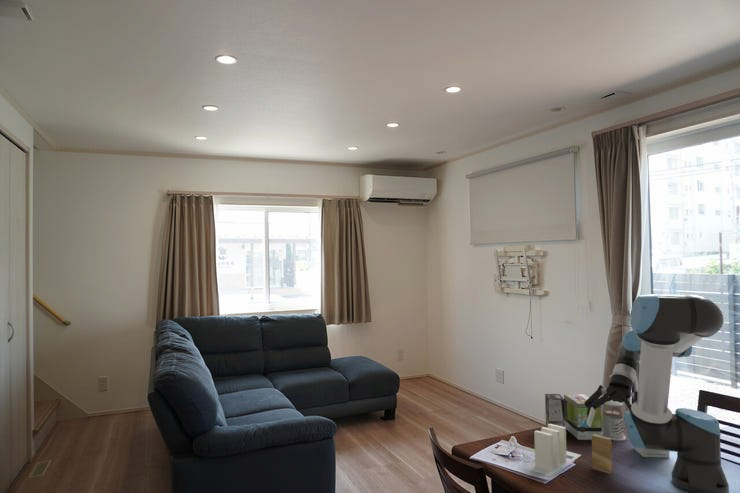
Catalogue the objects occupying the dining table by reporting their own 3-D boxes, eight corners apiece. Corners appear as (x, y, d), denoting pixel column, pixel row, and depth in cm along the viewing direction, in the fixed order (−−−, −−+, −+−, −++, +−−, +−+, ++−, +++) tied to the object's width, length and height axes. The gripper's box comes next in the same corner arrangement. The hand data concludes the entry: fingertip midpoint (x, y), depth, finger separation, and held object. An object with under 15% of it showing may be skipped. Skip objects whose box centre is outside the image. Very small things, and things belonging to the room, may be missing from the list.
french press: (594, 434, 201) (593, 373, 202) (613, 429, 206) (612, 370, 206) (615, 442, 192) (613, 378, 193) (634, 437, 197) (633, 375, 198)
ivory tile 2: (544, 460, 174) (543, 426, 174) (560, 465, 169) (559, 430, 170) (541, 461, 173) (541, 427, 173) (558, 466, 168) (557, 432, 169)
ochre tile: (594, 468, 168) (593, 434, 168) (612, 474, 163) (611, 438, 164) (592, 470, 166) (591, 435, 167) (610, 475, 162) (609, 439, 162)
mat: (558, 450, 184) (558, 448, 184) (581, 456, 178) (581, 454, 178) (525, 470, 167) (525, 468, 167) (550, 478, 161) (549, 476, 161)
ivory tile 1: (550, 456, 177) (549, 423, 177) (566, 461, 173) (565, 427, 173) (548, 457, 176) (547, 424, 176) (564, 462, 172) (563, 428, 172)
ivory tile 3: (537, 464, 170) (536, 430, 171) (553, 469, 166) (552, 434, 166) (535, 465, 169) (534, 431, 169) (551, 471, 165) (550, 435, 165)
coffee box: (565, 440, 195) (564, 399, 195) (548, 439, 196) (548, 399, 196) (561, 432, 203) (560, 393, 204) (545, 431, 205) (544, 393, 205)
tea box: (602, 440, 194) (601, 403, 194) (577, 440, 194) (576, 403, 194) (586, 427, 209) (586, 393, 209) (563, 427, 209) (562, 393, 210)
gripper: (662, 391, 174) (649, 444, 164) (591, 379, 193) (576, 426, 182) (656, 379, 171) (643, 432, 160) (585, 368, 189) (569, 415, 179)
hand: (607, 429), depth 171 cm, fingers open, 13 cm apart
